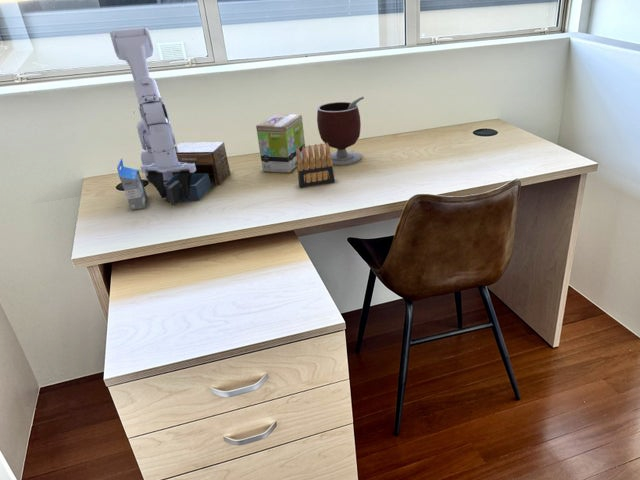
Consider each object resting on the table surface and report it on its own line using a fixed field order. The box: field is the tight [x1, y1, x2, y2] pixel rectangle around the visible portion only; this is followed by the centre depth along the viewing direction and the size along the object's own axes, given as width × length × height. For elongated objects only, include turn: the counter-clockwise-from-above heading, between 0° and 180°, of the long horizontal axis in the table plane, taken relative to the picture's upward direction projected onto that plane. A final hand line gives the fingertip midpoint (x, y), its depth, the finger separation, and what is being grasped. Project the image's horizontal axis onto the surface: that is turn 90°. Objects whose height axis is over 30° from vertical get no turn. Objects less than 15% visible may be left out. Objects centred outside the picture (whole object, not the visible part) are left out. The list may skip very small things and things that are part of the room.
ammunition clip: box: [296, 142, 336, 189], centre depth 164 cm, size 11×2×12 cm, turn 111°
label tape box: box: [116, 157, 148, 211], centre depth 156 cm, size 9×4×12 cm, turn 16°
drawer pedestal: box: [172, 141, 231, 186], centre depth 171 cm, size 12×14×10 cm
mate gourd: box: [316, 96, 365, 166], centre depth 181 cm, size 16×14×20 cm
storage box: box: [164, 173, 212, 206], centre depth 160 cm, size 10×16×6 cm, turn 176°
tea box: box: [255, 113, 306, 173], centre depth 180 cm, size 15×10×15 cm, turn 168°
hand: (176, 196), depth 156 cm, fingers open, 6 cm apart
